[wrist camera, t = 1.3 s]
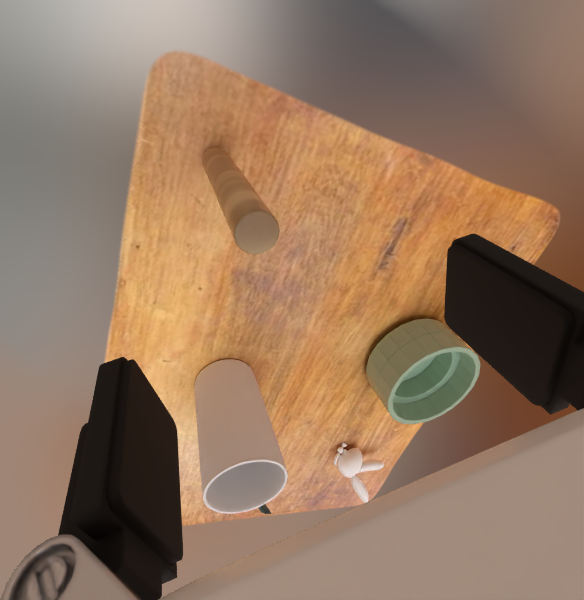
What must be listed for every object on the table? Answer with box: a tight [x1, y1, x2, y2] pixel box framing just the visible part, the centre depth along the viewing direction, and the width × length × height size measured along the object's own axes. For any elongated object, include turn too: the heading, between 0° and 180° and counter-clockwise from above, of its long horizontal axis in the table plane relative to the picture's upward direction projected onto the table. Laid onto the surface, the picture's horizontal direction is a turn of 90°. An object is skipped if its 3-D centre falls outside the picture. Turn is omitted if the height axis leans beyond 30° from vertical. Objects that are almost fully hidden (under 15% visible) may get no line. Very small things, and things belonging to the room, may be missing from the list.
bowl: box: [366, 318, 480, 424], centre depth 42 cm, size 11×11×6 cm
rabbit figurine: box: [333, 442, 384, 503], centre depth 52 cm, size 6×4×8 cm
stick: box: [203, 147, 279, 254], centre depth 21 cm, size 2×2×14 cm
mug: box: [195, 359, 288, 513], centre depth 35 cm, size 10×7×12 cm, turn 9°
